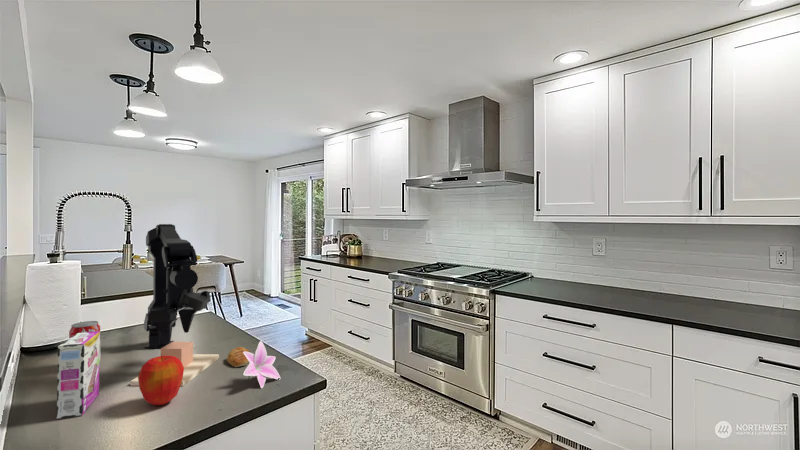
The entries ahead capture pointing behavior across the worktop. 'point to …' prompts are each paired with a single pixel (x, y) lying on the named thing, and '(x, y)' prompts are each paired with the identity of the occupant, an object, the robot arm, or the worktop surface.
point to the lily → (260, 365)
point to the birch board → (191, 367)
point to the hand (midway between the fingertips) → (177, 337)
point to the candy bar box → (78, 374)
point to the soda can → (84, 328)
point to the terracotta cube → (179, 351)
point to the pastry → (237, 357)
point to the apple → (160, 379)
